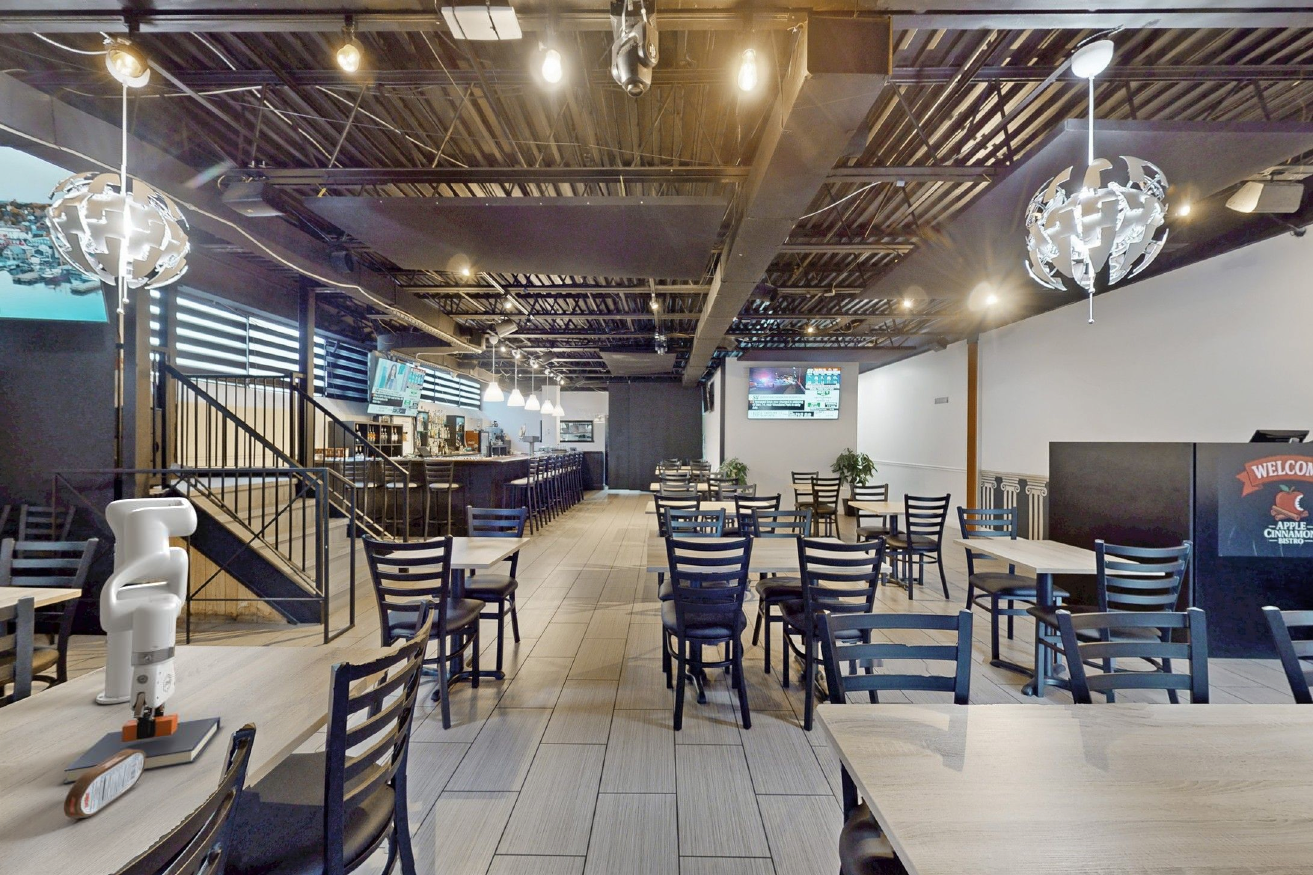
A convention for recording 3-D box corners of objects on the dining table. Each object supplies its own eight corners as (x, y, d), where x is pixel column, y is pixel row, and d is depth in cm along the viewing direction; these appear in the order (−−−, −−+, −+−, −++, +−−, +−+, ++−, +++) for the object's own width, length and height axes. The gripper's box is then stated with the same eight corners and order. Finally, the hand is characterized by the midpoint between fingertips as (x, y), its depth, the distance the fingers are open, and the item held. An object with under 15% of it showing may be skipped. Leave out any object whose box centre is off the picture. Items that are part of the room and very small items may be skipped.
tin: (133, 779, 114) (134, 740, 114) (148, 779, 114) (150, 740, 115) (60, 828, 99) (62, 783, 99) (78, 828, 99) (81, 782, 100)
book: (107, 745, 127) (108, 732, 127) (220, 728, 136) (220, 716, 136) (63, 784, 112) (64, 770, 112) (192, 762, 121) (193, 749, 121)
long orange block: (128, 736, 124) (129, 720, 124) (177, 728, 127) (177, 713, 127) (121, 742, 121) (122, 726, 121) (171, 734, 124) (172, 719, 124)
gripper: (156, 665, 119) (153, 748, 118) (188, 641, 134) (185, 715, 133) (112, 670, 116) (108, 755, 115) (150, 645, 131) (147, 720, 130)
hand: (150, 732), depth 124 cm, fingers closed on long orange block, 3 cm apart
